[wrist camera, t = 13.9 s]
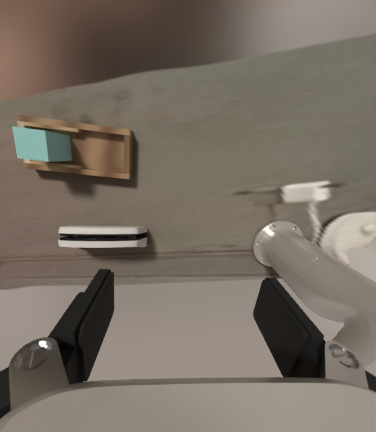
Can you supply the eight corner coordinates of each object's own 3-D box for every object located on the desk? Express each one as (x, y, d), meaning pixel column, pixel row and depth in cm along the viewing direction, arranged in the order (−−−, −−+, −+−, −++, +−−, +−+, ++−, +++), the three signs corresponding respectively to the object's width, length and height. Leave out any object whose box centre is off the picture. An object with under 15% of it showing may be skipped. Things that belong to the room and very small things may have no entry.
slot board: (132, 131, 35) (129, 129, 33) (131, 177, 38) (129, 179, 36) (27, 117, 33) (16, 114, 31) (34, 167, 36) (24, 168, 34)
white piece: (75, 245, 42) (45, 253, 32) (75, 225, 42) (45, 227, 32) (148, 246, 43) (141, 253, 33) (148, 226, 43) (141, 228, 33)
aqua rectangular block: (70, 135, 34) (44, 130, 27) (72, 160, 35) (48, 161, 28) (44, 132, 33) (12, 126, 27) (47, 157, 35) (17, 158, 28)
